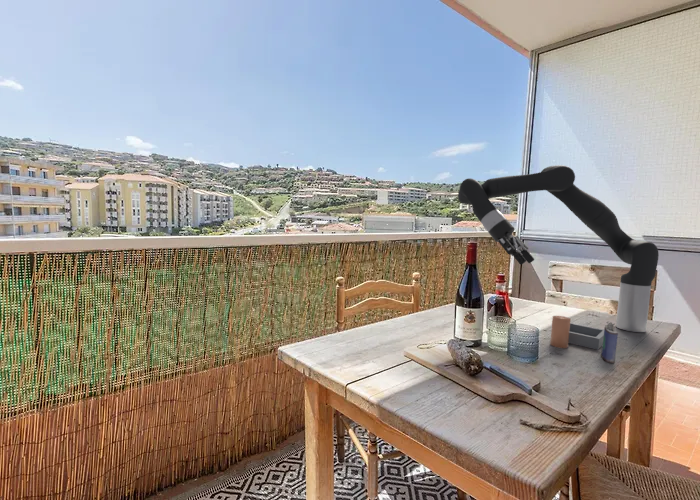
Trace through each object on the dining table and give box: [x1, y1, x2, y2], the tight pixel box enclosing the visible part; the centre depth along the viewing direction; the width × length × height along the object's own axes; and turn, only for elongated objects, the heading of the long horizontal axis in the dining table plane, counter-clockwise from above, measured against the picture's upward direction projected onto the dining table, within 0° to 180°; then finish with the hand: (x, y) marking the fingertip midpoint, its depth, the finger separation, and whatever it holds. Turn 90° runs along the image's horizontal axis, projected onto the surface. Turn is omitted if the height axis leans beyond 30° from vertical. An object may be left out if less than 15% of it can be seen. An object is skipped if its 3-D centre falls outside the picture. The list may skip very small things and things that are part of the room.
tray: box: [568, 322, 604, 351], centre depth 127 cm, size 13×13×4 cm
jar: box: [549, 315, 571, 349], centre depth 120 cm, size 5×5×9 cm
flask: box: [600, 321, 619, 364], centre depth 111 cm, size 9×3×11 cm, turn 152°
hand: (528, 262), depth 126 cm, fingers open, 8 cm apart
